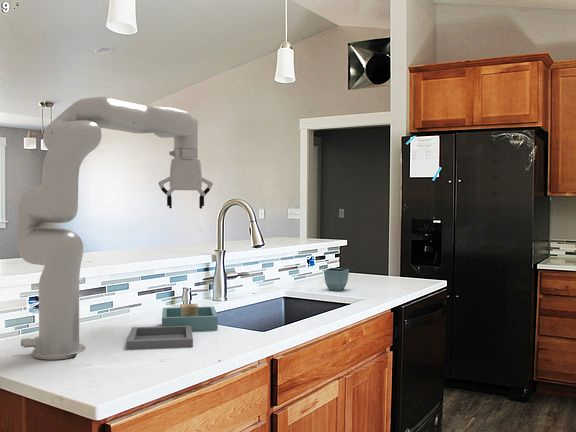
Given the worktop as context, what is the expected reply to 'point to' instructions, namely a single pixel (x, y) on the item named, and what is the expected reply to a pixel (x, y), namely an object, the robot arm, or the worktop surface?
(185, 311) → the oak block
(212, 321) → the tray
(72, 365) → the worktop surface
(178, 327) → the bin
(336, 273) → the flower pot
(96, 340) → the worktop surface
